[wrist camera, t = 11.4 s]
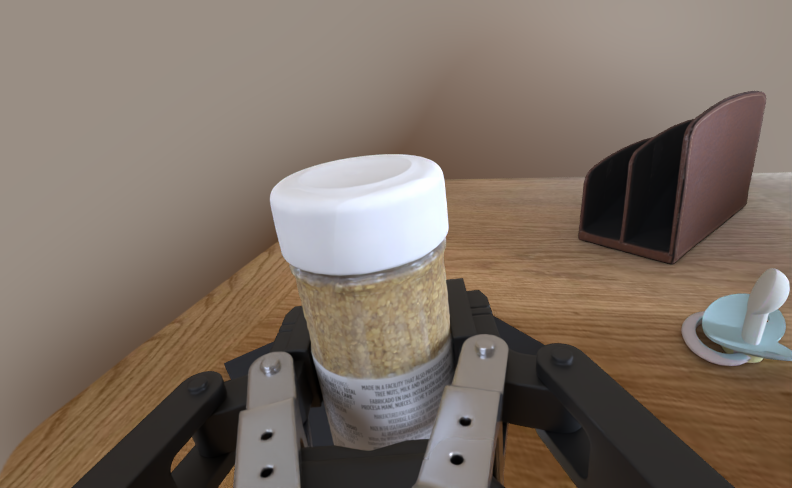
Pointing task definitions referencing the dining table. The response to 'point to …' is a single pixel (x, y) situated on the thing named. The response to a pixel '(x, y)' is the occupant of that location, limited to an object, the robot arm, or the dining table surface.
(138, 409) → the dining table surface
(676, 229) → the letter holder
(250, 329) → the dining table surface
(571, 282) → the dining table surface
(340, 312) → the sprinkles bottle
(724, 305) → the pacifier
